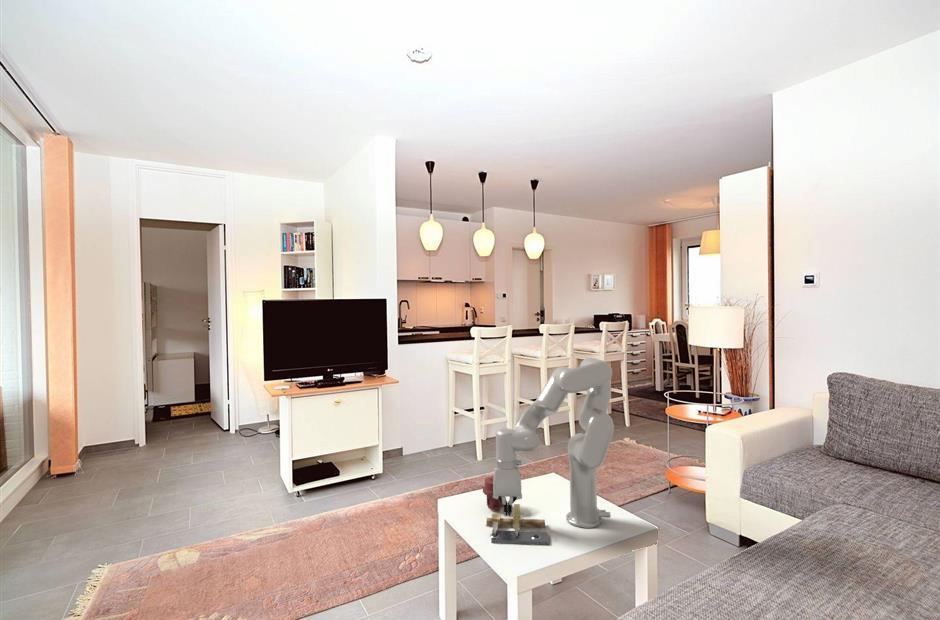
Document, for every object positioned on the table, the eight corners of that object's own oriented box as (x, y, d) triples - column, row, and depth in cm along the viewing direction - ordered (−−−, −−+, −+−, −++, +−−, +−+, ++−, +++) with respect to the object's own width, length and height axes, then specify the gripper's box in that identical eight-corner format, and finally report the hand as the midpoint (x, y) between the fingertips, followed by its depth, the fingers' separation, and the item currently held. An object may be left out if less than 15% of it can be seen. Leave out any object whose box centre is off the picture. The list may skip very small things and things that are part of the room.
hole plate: (547, 534, 158) (547, 531, 158) (548, 545, 151) (548, 541, 151) (490, 532, 160) (490, 529, 160) (489, 542, 153) (489, 539, 153)
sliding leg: (521, 522, 167) (520, 503, 167) (521, 540, 154) (520, 519, 155) (513, 522, 168) (512, 503, 168) (512, 539, 155) (512, 519, 155)
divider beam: (544, 523, 166) (544, 514, 166) (546, 541, 154) (546, 532, 154) (487, 521, 169) (487, 513, 169) (484, 539, 156) (484, 529, 156)
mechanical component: (502, 516, 173) (478, 511, 178) (512, 506, 182) (489, 501, 187) (501, 483, 173) (478, 479, 178) (511, 475, 182) (489, 471, 187)
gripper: (527, 460, 169) (528, 510, 169) (487, 460, 170) (488, 509, 170) (527, 467, 161) (528, 519, 161) (485, 467, 163) (486, 518, 163)
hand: (507, 514), depth 166 cm, fingers closed
